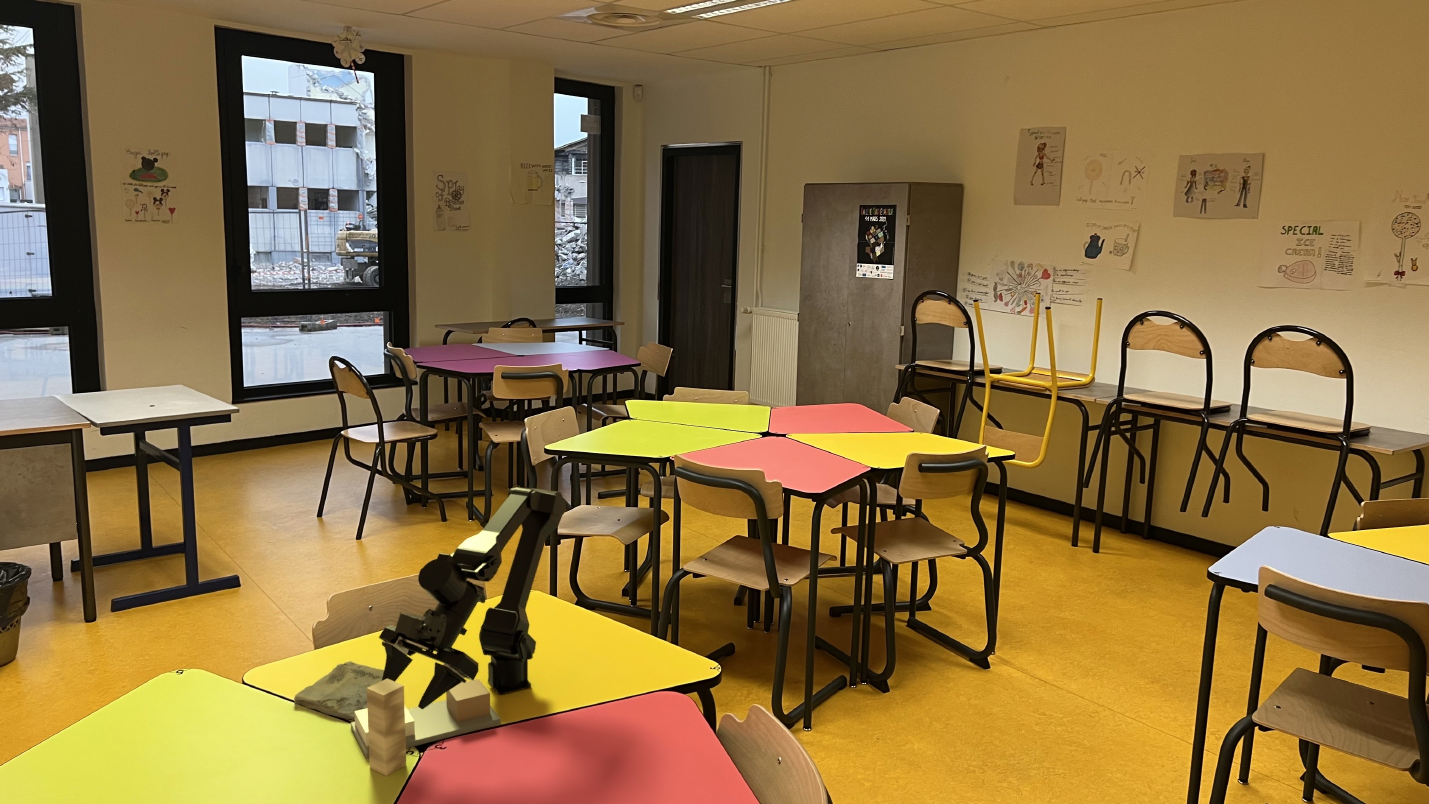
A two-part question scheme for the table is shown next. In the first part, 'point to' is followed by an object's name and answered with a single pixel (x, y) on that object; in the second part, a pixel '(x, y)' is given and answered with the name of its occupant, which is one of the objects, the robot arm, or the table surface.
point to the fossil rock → (341, 690)
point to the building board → (439, 717)
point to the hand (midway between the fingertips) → (400, 699)
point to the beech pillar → (386, 726)
